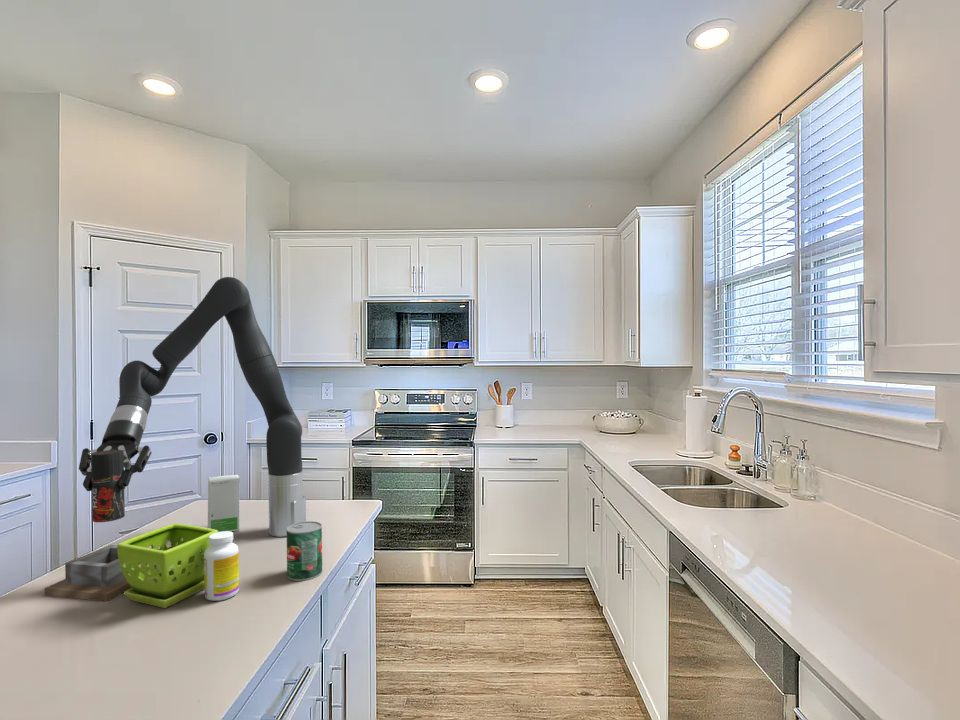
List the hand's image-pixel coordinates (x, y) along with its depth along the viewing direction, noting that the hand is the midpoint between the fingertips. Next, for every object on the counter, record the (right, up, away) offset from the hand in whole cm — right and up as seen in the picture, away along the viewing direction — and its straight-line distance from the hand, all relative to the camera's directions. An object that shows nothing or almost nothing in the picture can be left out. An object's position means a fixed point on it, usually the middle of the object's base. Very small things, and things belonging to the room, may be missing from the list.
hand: (104, 488), depth 114 cm
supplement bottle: (+29, -22, -5) cm, 37 cm away
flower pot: (+18, -22, -5) cm, 29 cm away
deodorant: (0, -7, +2) cm, 8 cm away
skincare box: (+9, -22, +36) cm, 43 cm away
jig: (0, -22, +5) cm, 22 cm away
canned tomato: (+43, -21, +5) cm, 48 cm away
